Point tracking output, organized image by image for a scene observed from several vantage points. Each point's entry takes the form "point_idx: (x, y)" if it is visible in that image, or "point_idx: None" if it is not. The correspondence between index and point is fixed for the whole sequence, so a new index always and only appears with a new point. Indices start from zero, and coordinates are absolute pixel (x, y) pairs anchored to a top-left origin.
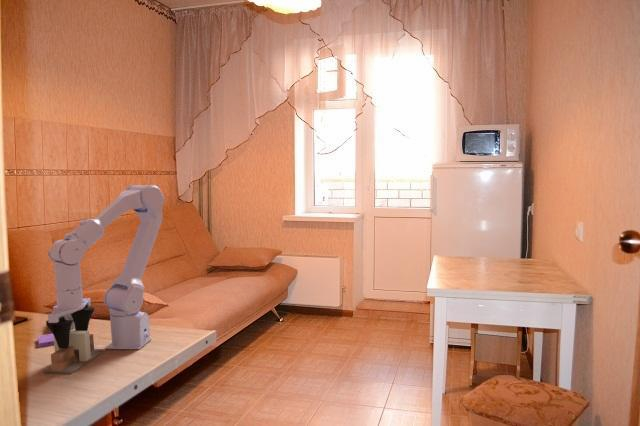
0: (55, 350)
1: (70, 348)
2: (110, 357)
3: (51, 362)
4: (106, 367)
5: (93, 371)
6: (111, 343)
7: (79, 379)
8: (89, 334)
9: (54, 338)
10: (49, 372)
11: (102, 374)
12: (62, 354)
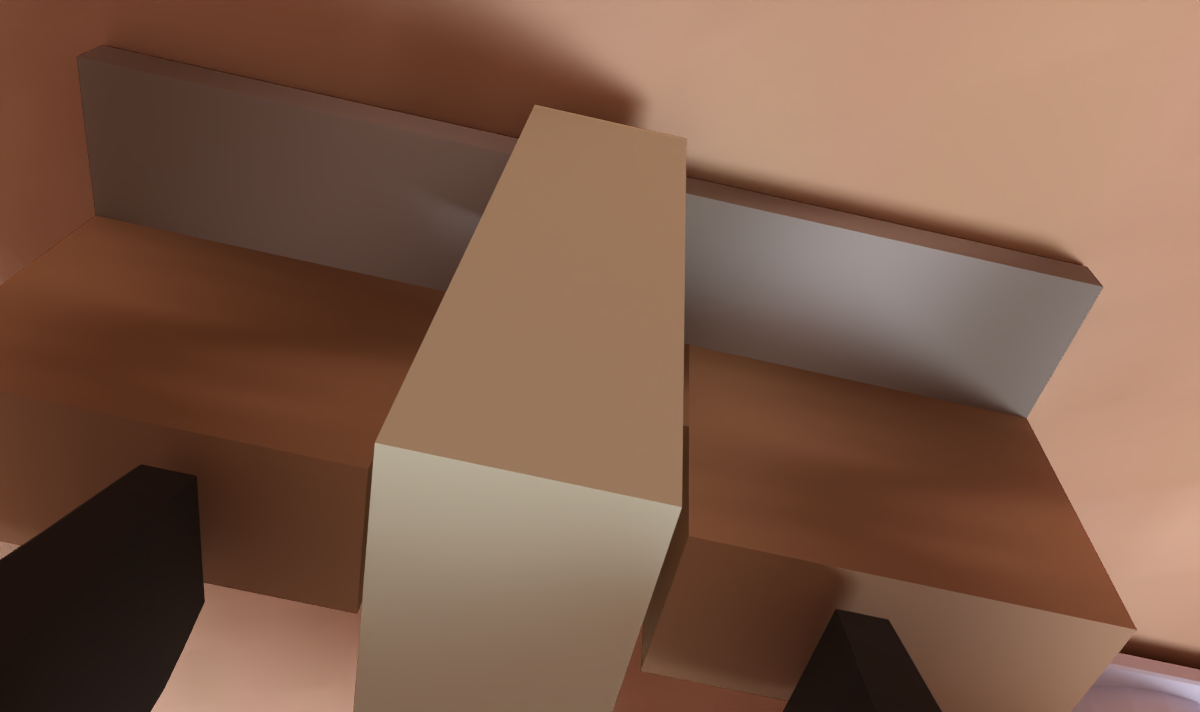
0: (497, 197)
1: (257, 591)
2: (638, 692)
3: (6, 283)
4: (341, 700)
5: (232, 621)
6: (1118, 677)
7: (14, 549)
8: (1061, 705)
9: (422, 354)
10: (100, 164)
11: (165, 697)
12: (5, 526)
